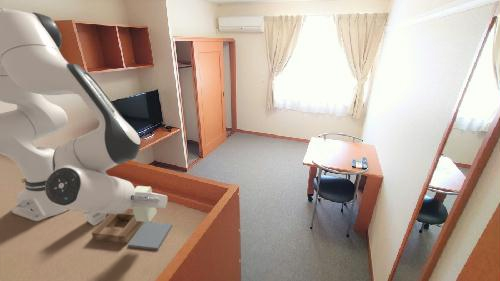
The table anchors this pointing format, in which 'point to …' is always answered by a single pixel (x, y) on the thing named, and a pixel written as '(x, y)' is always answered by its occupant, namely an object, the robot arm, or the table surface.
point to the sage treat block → (144, 208)
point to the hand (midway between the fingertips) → (144, 201)
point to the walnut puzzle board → (114, 234)
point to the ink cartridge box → (95, 217)
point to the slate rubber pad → (150, 235)
